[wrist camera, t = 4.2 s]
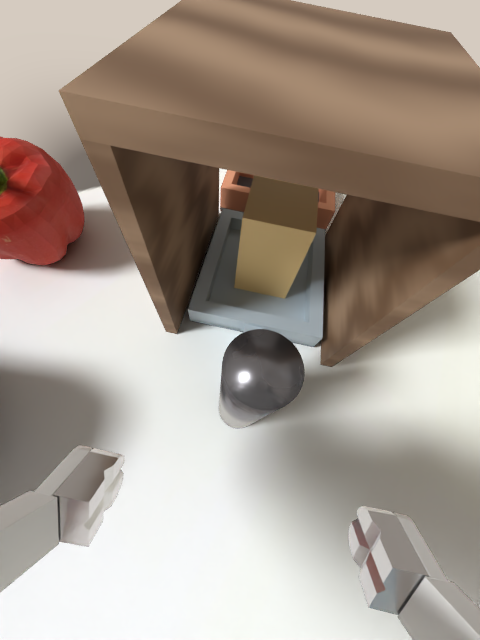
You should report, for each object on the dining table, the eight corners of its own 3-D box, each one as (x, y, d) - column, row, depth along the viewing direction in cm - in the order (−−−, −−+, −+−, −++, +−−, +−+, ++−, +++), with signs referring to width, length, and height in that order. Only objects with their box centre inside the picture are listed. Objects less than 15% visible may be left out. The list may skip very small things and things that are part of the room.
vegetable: (116, 267, 24) (58, 163, 15) (-4, 310, 20) (-171, 210, 12) (85, 202, 28) (24, 89, 19) (-21, 230, 24) (-155, 108, 15)
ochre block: (243, 250, 25) (254, 174, 18) (289, 260, 25) (318, 188, 18) (234, 288, 23) (242, 217, 16) (285, 298, 23) (316, 233, 16)
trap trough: (233, 173, 33) (234, 149, 30) (325, 192, 33) (334, 170, 30) (220, 210, 29) (220, 187, 26) (324, 232, 29) (335, 211, 26)
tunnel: (210, 214, 28) (205, -17, 14) (332, 239, 28) (450, 32, 14) (166, 331, 21) (58, 90, 7) (331, 366, 21) (587, 199, 6)
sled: (222, 223, 28) (226, 103, 18) (318, 243, 27) (374, 133, 18) (159, 411, 18) (90, 373, 8) (309, 444, 17) (426, 446, 8)
